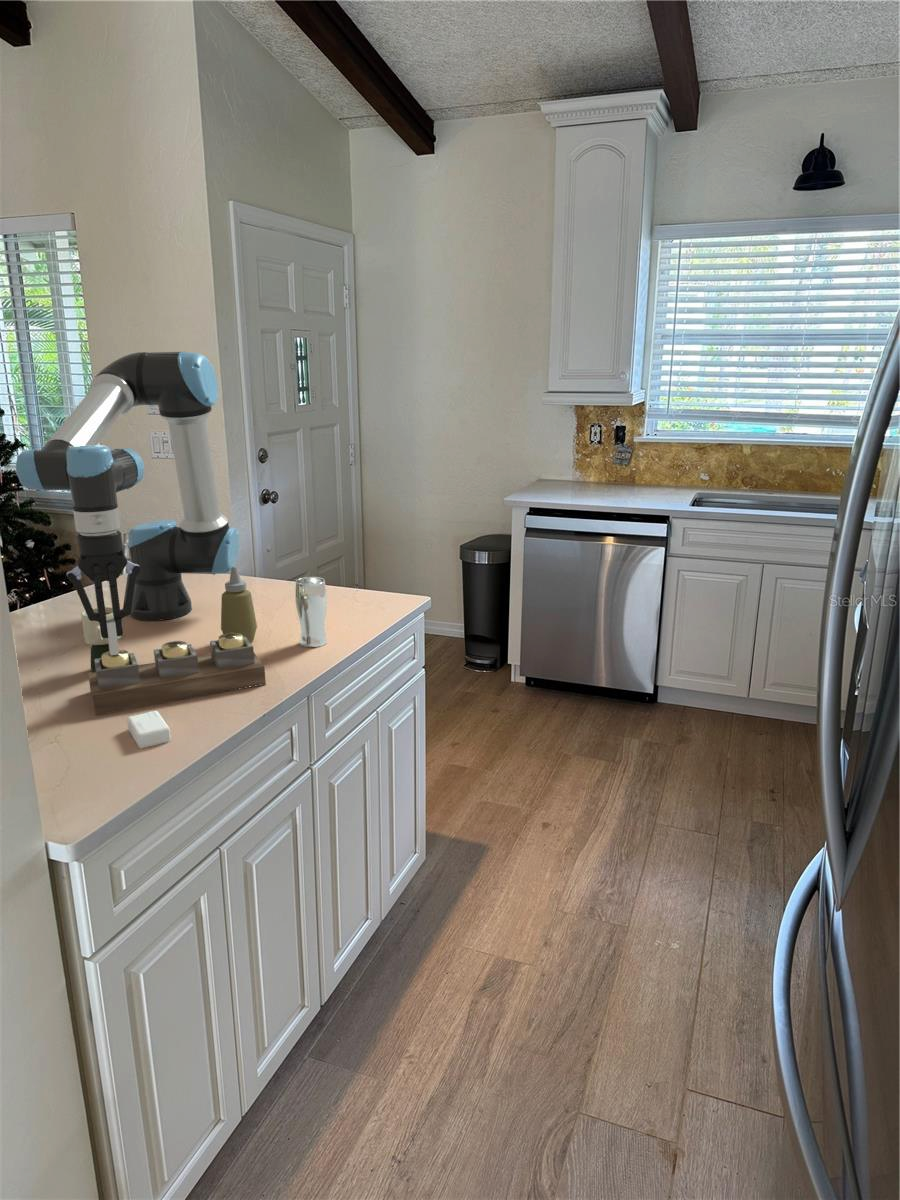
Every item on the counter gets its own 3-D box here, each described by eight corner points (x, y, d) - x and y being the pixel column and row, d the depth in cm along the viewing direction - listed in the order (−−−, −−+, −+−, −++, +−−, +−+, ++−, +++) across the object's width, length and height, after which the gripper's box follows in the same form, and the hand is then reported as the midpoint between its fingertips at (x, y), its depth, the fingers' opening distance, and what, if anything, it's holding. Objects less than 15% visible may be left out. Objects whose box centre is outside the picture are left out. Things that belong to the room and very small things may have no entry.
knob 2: (218, 657, 170) (216, 634, 168) (241, 654, 172) (239, 630, 170) (223, 665, 166) (221, 641, 164) (247, 661, 168) (245, 637, 166)
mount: (90, 691, 163) (85, 656, 161) (251, 664, 177) (248, 631, 175) (95, 715, 153) (90, 677, 151) (265, 684, 167) (263, 649, 165)
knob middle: (162, 666, 165) (159, 642, 163) (187, 662, 167) (184, 638, 165) (166, 675, 161) (163, 650, 159) (191, 670, 163) (189, 646, 161)
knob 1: (103, 676, 160) (100, 651, 159) (129, 672, 162) (126, 647, 161) (105, 685, 156) (102, 659, 155) (132, 680, 158) (129, 655, 157)
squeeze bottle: (249, 649, 186) (243, 572, 180) (216, 647, 187) (209, 571, 182) (263, 637, 193) (258, 563, 188) (231, 635, 195) (225, 561, 190)
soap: (172, 742, 143) (170, 727, 142) (139, 750, 140) (137, 734, 139) (159, 723, 150) (157, 708, 150) (127, 731, 148) (125, 715, 147)
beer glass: (334, 640, 191) (331, 578, 187) (317, 650, 185) (314, 586, 181) (309, 636, 194) (306, 575, 190) (292, 645, 188) (288, 582, 184)
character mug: (123, 677, 171) (115, 617, 167) (85, 681, 169) (77, 621, 165) (127, 659, 181) (120, 602, 177) (92, 662, 179) (84, 605, 175)
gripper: (60, 539, 145) (78, 664, 152) (138, 532, 150) (152, 653, 157) (58, 531, 151) (76, 651, 158) (134, 524, 157) (147, 641, 164)
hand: (114, 652), depth 158 cm, fingers closed
